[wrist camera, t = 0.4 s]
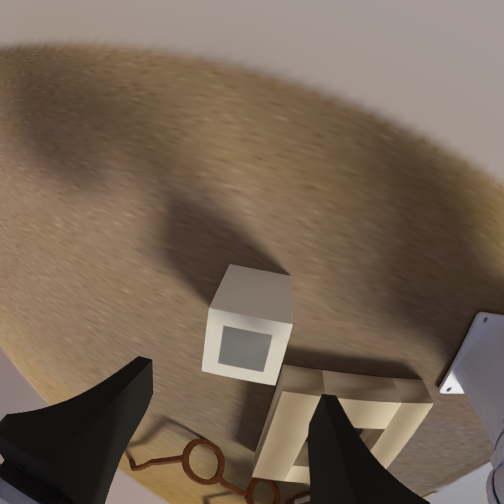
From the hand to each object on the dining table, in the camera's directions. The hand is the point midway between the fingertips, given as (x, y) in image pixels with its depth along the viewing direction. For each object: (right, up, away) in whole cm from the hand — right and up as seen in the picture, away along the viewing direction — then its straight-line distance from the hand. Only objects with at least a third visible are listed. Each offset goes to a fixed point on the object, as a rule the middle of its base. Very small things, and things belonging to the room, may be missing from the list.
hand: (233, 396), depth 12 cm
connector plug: (+1, +3, +9) cm, 9 cm away
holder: (+8, -9, +12) cm, 17 cm away
